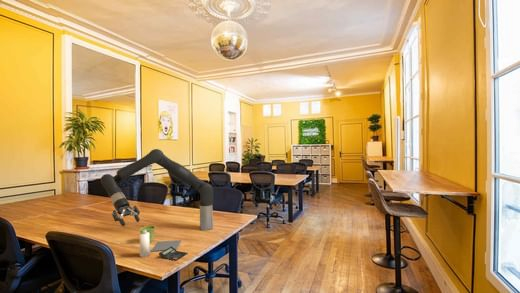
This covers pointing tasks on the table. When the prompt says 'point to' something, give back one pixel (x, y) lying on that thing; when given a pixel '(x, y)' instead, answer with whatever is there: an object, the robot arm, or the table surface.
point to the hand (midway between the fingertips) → (131, 223)
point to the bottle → (144, 244)
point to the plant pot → (150, 230)
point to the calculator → (172, 254)
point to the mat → (165, 245)
